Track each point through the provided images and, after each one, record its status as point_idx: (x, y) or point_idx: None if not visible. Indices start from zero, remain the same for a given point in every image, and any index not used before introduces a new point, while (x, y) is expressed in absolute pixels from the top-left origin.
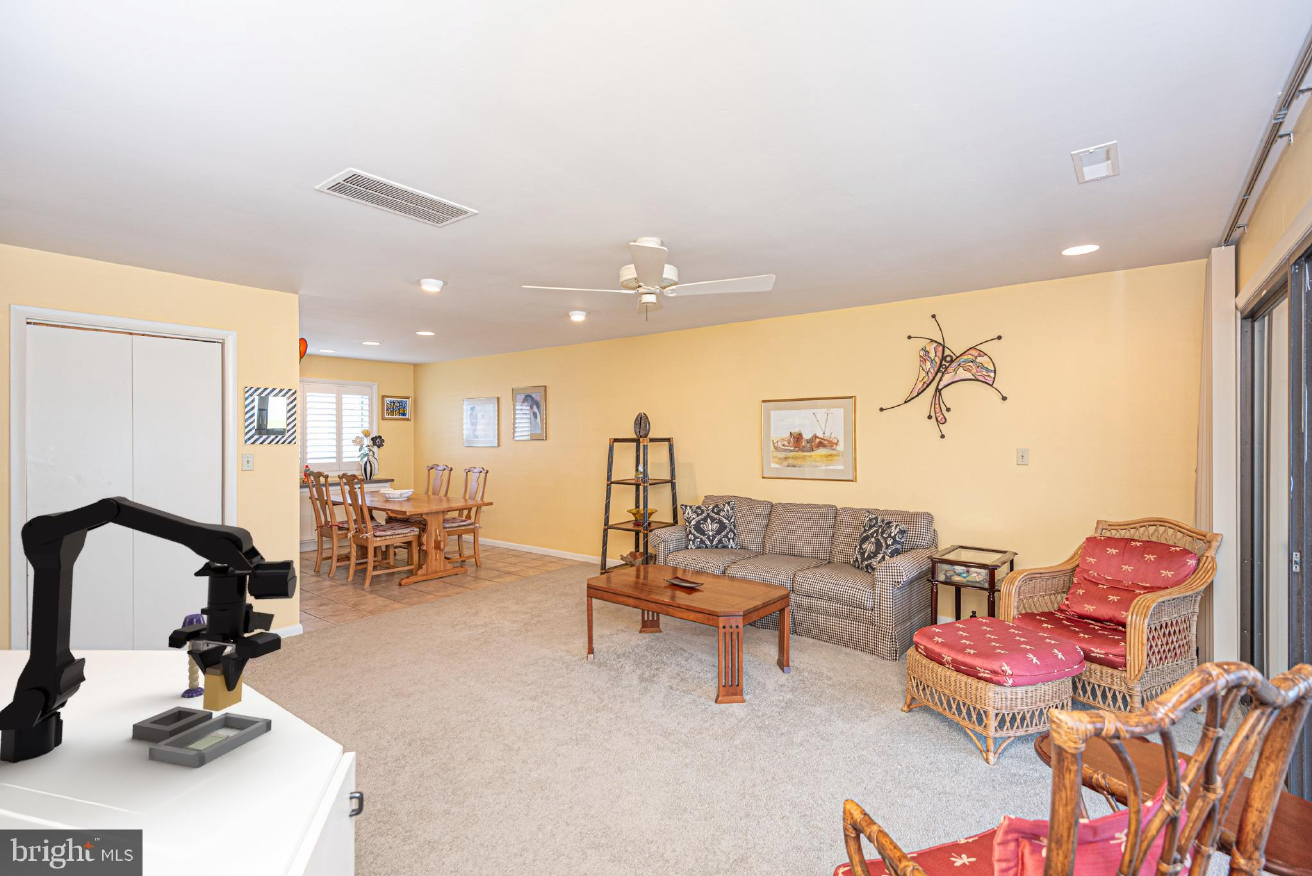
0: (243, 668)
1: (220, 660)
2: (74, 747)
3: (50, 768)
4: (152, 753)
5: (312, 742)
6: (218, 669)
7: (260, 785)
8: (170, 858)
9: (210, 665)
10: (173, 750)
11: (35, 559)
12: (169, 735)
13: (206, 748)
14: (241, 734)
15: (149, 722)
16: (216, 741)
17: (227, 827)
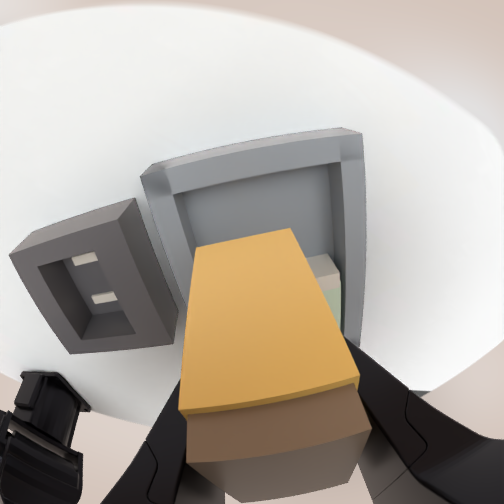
0: (421, 400)
1: (186, 492)
2: (51, 363)
3: (113, 400)
4: None
5: (462, 130)
6: (327, 487)
7: (465, 285)
8: (446, 378)
9: (215, 498)
10: None
11: None
12: (174, 333)
13: (346, 328)
14: (364, 250)
15: (79, 338)
16: (335, 302)
17: (469, 341)
